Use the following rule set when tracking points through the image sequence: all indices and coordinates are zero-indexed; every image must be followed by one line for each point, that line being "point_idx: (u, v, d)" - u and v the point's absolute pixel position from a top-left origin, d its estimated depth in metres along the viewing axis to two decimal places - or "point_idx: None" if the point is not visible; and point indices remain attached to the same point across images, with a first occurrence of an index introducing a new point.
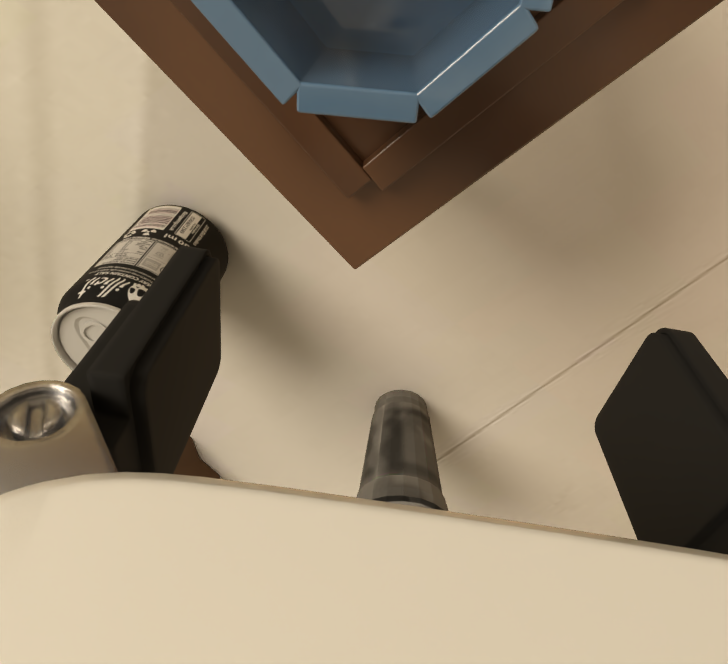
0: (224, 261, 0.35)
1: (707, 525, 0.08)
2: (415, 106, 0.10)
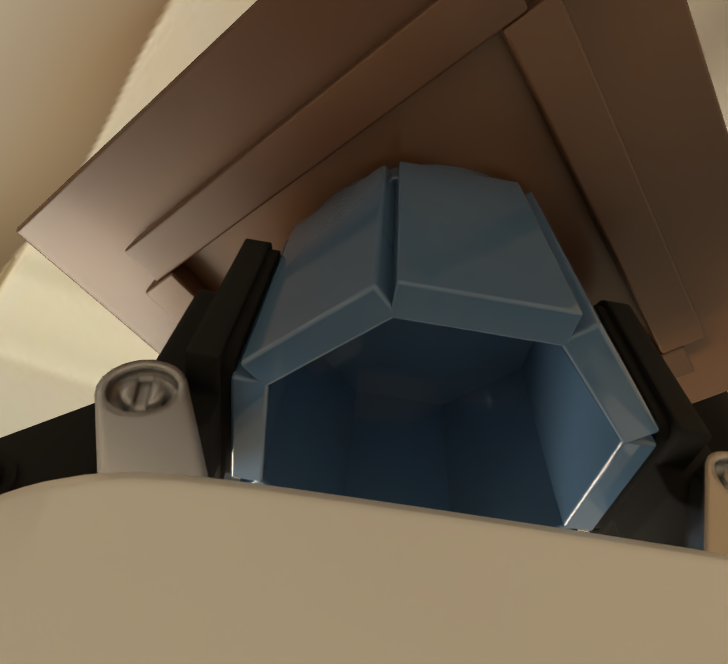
0: None
1: None
2: (636, 446, 0.08)
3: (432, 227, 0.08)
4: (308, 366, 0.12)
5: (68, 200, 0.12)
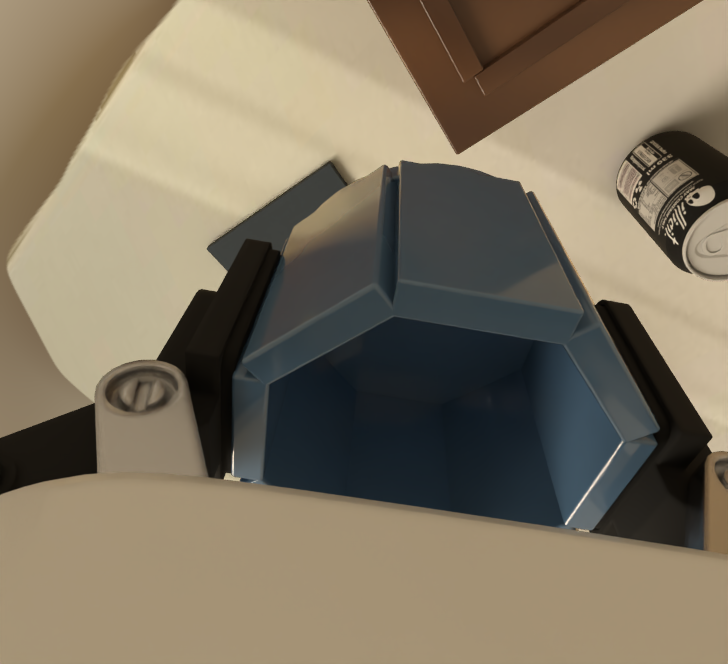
0: (690, 135, 0.37)
1: None
2: (637, 445, 0.08)
3: (433, 226, 0.08)
4: (308, 365, 0.12)
5: None
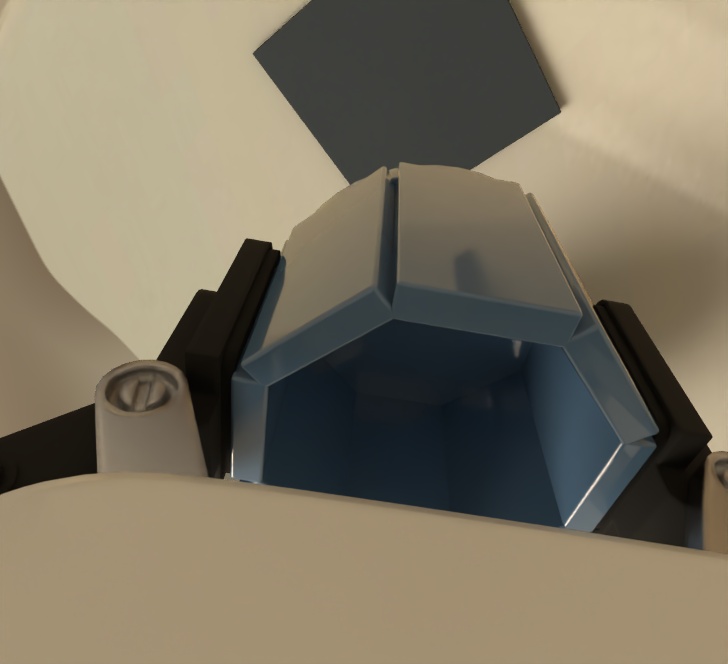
0: None
1: None
2: (636, 447, 0.08)
3: (432, 228, 0.08)
4: (308, 367, 0.12)
5: None
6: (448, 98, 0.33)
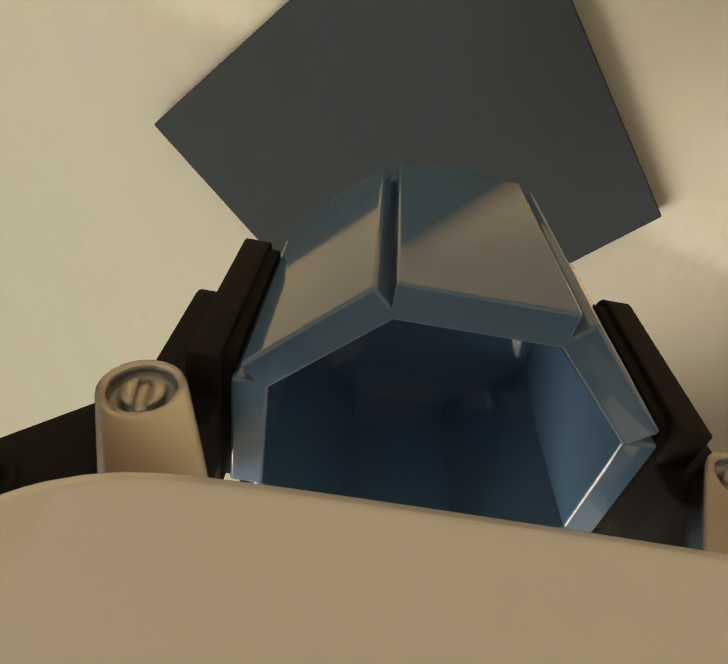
0: None
1: None
2: (636, 447, 0.08)
3: (432, 229, 0.08)
4: (308, 367, 0.12)
5: None
6: None
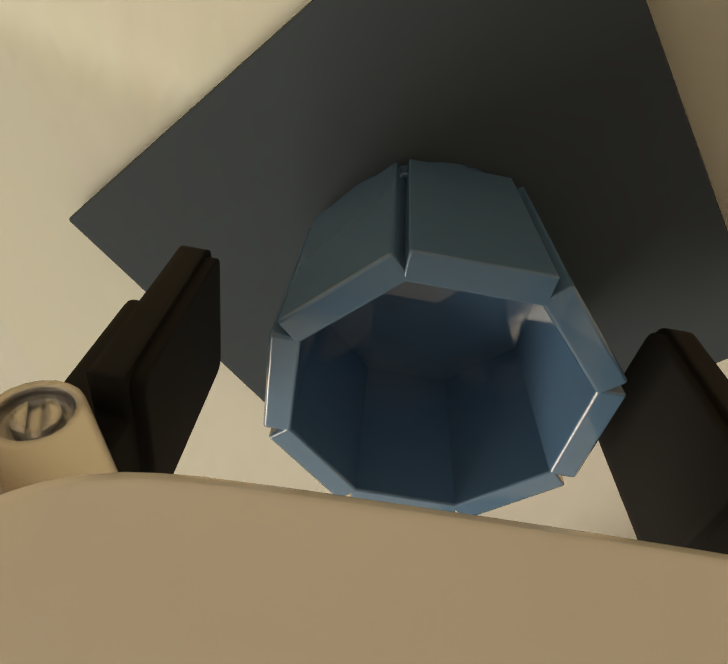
0: None
1: (707, 525, 0.08)
2: (608, 395, 0.10)
3: (437, 211, 0.10)
4: (326, 341, 0.14)
5: None
6: None
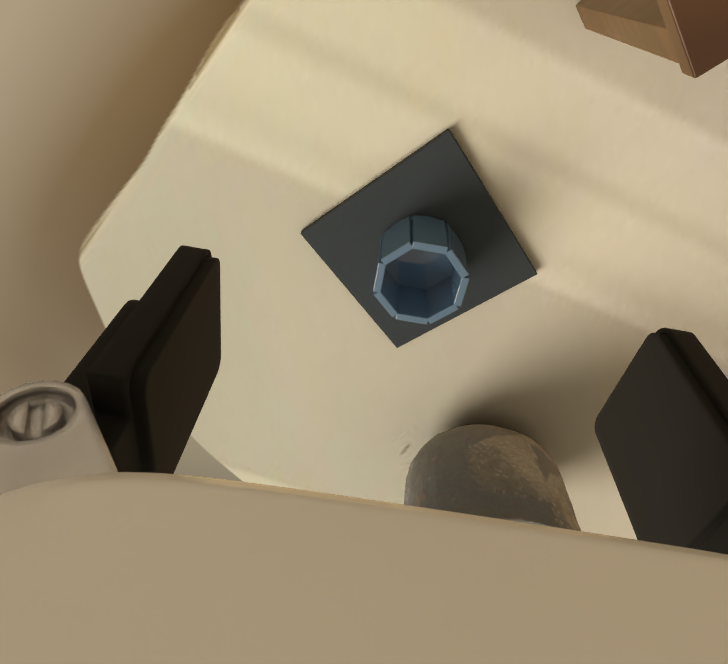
0: None
1: (707, 525, 0.08)
2: (464, 278, 0.38)
3: (420, 231, 0.38)
4: (386, 273, 0.42)
5: None
6: None
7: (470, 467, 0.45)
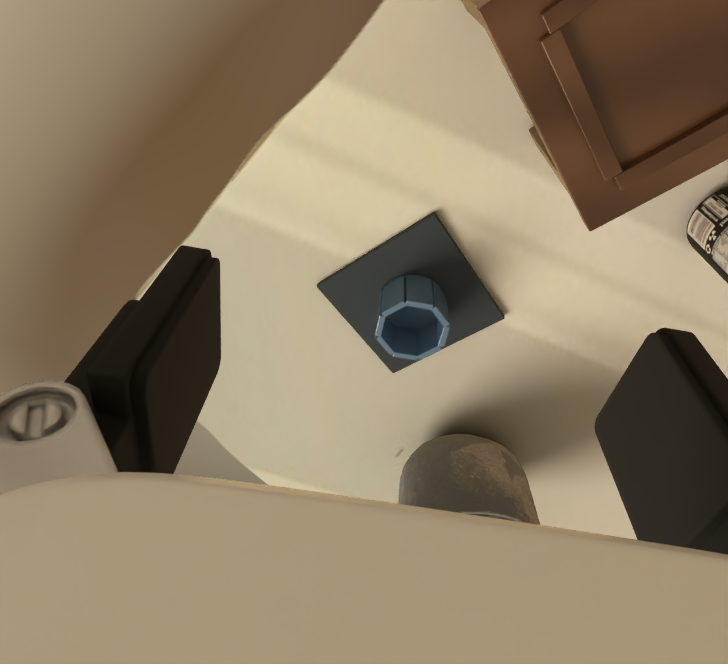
0: None
1: (707, 525, 0.08)
2: (446, 327, 0.49)
3: (412, 290, 0.49)
4: (384, 318, 0.53)
5: None
6: None
7: (452, 470, 0.56)
